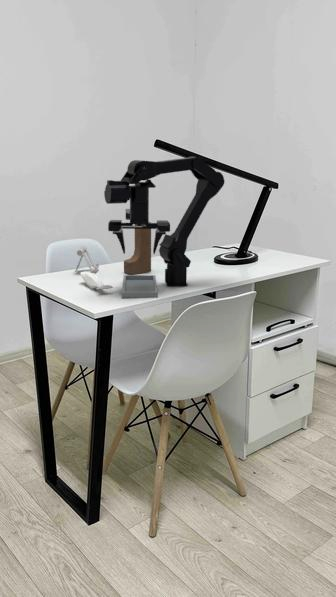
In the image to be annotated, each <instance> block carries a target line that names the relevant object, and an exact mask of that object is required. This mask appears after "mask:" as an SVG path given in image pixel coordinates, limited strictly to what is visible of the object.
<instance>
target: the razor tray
mask: <svg viewBox="0 0 336 597" xmlns="http://www.w3.org/2000/svg"><path fill="white" fill-rule="evenodd" d="M121 288H122V289H121V299H122V300H124V299H145V298H146V299H149V298H150V299H151V298H152V299H153V298H158V297H159V295H158V294H159V293H158V285H157V277H156V275H154V274H153V275H151V274H147V275H145V274H142V275H141V274H132V275H129V274H127V275H126V274H125V275H123V277H122V286H121Z"/></svg>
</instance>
